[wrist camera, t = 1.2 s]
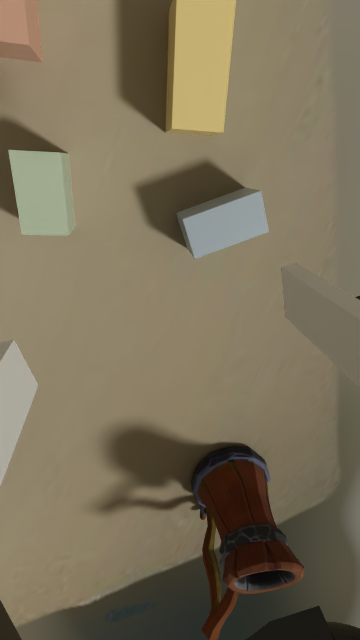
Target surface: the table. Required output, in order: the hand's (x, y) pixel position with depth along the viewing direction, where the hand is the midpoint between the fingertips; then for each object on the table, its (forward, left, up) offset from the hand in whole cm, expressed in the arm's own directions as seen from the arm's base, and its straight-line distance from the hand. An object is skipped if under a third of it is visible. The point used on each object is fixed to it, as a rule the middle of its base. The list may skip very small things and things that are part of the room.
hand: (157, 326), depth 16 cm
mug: (+11, -36, -18) cm, 42 cm away
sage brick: (-8, +5, -18) cm, 20 cm away
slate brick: (+7, +3, -18) cm, 20 cm away
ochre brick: (+4, +14, -18) cm, 23 cm away
